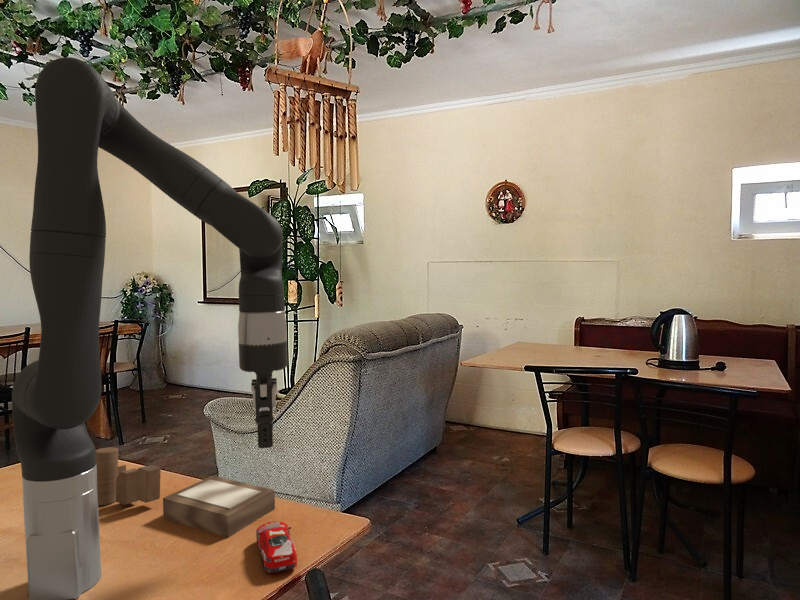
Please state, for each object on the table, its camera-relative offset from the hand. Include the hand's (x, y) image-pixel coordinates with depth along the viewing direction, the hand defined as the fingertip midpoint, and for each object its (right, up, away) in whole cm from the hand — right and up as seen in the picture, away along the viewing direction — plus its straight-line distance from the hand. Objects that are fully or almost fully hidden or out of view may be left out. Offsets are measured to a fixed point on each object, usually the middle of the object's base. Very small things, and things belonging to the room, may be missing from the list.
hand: (265, 438), depth 90 cm
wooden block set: (-33, -18, +20) cm, 43 cm away
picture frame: (-12, -18, +14) cm, 25 cm away
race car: (0, -20, +2) cm, 20 cm away
